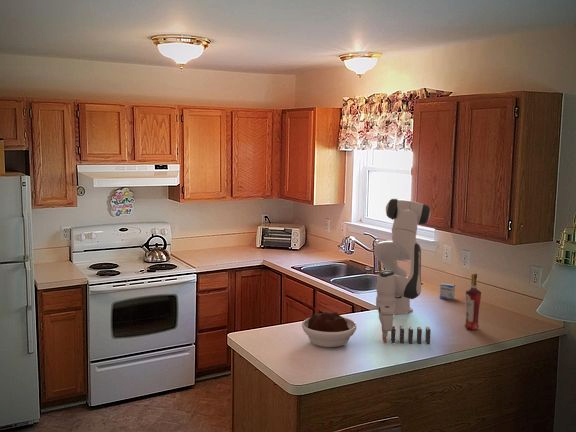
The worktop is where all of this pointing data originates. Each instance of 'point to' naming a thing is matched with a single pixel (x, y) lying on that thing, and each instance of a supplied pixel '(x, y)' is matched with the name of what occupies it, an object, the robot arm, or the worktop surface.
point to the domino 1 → (384, 338)
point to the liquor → (472, 305)
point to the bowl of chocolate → (328, 329)
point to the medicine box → (447, 291)
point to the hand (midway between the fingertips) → (384, 334)
